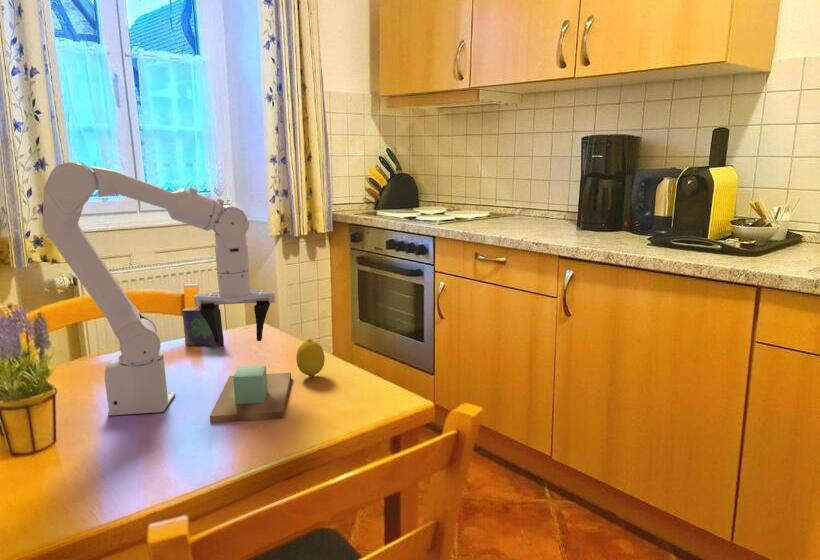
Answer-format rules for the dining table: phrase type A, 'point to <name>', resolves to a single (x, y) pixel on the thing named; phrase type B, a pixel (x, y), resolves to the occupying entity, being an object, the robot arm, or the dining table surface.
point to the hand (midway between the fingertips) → (239, 340)
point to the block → (250, 384)
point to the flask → (199, 329)
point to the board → (253, 411)
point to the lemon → (310, 358)
